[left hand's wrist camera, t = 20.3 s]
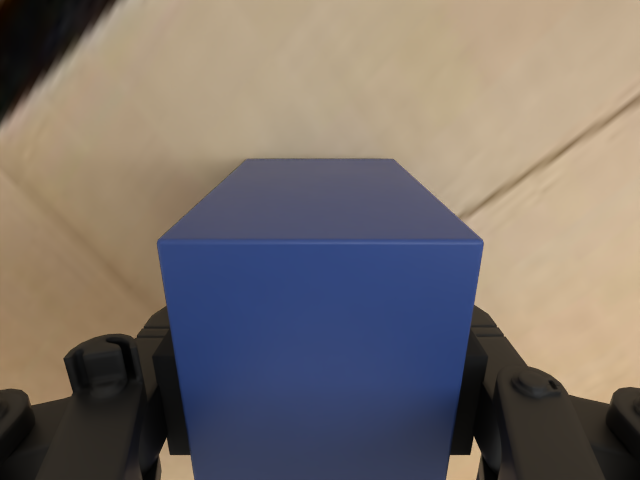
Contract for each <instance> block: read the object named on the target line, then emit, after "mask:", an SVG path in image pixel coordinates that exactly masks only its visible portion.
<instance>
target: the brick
mask: <svg viewBox="0 0 640 480" xmlns="http://www.w3.org/2000/svg"><path fill="white" fill-rule="evenodd" d="M483 245H484V243H483V240H482V239H481V238H480V237H479V236H478V235H477V234H476V233H475V232H473V231H472V230H471V229H470V228H469V227H468V226H467V225H466V224H465V223H464V222H462V221H461V220H460V219H459V218H458V217H457V216H456V215H455V214H454V213H452V212H451V211H450V210H449V209H448V208H447V207H446V206H445V205H444V204H443V203H441V202H440V201H439V200H438V199H437V198H436V197H435V196H434V195H433V194H431V193H430V192H429V191H428V190H427V189H426V188H425V187H424V186H423V185H422V184H420V183H419V182H418V181H417V180H416V179H415V178H414V177H413V176H412V175H410V174H409V173H408V172H407V171H406V170H405V169H404V168H403V167H402V166H401V165H399V164H398V163H397V162H396V161H395V160H394V159H246V160H245V161H244V162H243V163H242V164H241V165H240V166H238V167H237V168H236V169H235V170H234V171H233V172H232V173H231V174H230V175H229V176H227V177H226V178H225V179H224V180H223V181H222V182H221V183H220V184H219V185H218V186H216V187H215V188H214V189H213V190H212V191H211V192H210V193H209V194H208V195H207V196H206V197H204V198H203V199H202V200H201V201H200V202H199V203H198V204H197V205H196V206H195V207H193V208H192V209H191V210H190V211H189V212H188V213H187V214H186V215H185V216H184V217H182V218H181V219H180V220H179V221H178V222H177V223H176V224H175V225H174V226H173V227H171V228H170V229H169V230H168V231H167V232H166V233H165V234H164V235H163V236H162V237H160V238H159V239H158V241H157V248H158V254H159V260H160V267H161V273H162V279H163V285H164V292H165V298H166V304H167V310H168V317H169V323H170V329H171V336H172V342H173V348H174V354H175V361H176V367H177V373H178V379H179V386H180V392H181V398H182V404H183V411H184V417H185V423H186V430H187V436H188V442H189V448H190V455H191V461H192V467H193V473H194V480H446V476H447V469H448V463H449V457H450V451H451V444H452V438H453V432H454V426H455V420H456V413H457V407H458V401H459V395H460V388H461V382H462V376H463V370H464V363H465V357H466V351H467V345H468V339H469V332H470V326H471V320H472V314H473V307H474V301H475V295H476V289H477V283H478V276H479V270H480V264H481V258H482V251H483Z"/></svg>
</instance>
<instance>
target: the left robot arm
mask: <svg viewBox="0 0 640 480" xmlns="http://www.w3.org/2000/svg"><path fill="white" fill-rule="evenodd" d="M64 362H65V366H66V369H67V373H68V376H69V380H70V383H71V387H72V390H73V393H72V396H71V397H67V398H64V399H60V400H55V401H50V402H46V403H41V404H37V405H32V406H31V404H30V401H29V398H28V395H27V394H26V393H25V392H23V391H22V390H17V389H5V390H0V480H160V479H161V464H160V458H159V453H160V451H161V449H162V447H163V444H164V442H165V440H166V438H167V441H168V447H169V452H170V455H190V448H189V442H188V436H187V430H186V423H185V417H184V411H183V404H182V398H181V392H180V386H179V379H178V373H177V367H176V361H175V354H174V348H173V342H172V336H171V329H170V323H169V317H168V310H167V306H166V307H164V308H163V309H161V310H160V311H158V312H157V313H155V314H154V315H152V316H151V318H150V319H149V320H148V322H147V323H146V324H145V326H144V329H142V330H141V331H140V332H139V334H138V335H137V338H135V339H133V338H132V337H131V336H128V335H124V334H107V335H103V336H99V337H95V338H92V339H90V340H87V341H85V342H83V343H81V344H79V345H78V346H76V347H75V348H73V349H72V350H70V351H69V353H68V354H67V355H66V356H65V357H64ZM473 437H475V439H476V442H477V444H478V446H479V448H480V451H481V458H480V463H479V468H478V473H477V478H476V480H640V388H634V387H627V388H619V389H618V390H617V391H616V392H614V393H613V396H612V399H611V402H610V404H607V403H602V402H598V401H593V400H588V399H584V398H579V397H575V396H572V395H568V393H567V391H566V390H565V388H564V387H563V385H562V384H561V383H560V382H559V381H557V380H556V379H555V378H554V377H552V376H551V375H549V374H547V373H545V372H543V371H541V370H539V369H536V368H532V367H529V366H527V365H526V363H525V362H524V361H523V359H522V358H521V357H520V355H519V354H518V353H517V351H516V350H515V349H514V347H513V346H512V345H511V343H510V342H509V341H508V339H507V338H506V337H504V334H503V333H502V332H501V330H500V329H499V328H498V327H497V325H496V324H495V322H494V321H493V320H492V318H491V317H490V316H489V314H487V313H486V312H484V311H483V310H481V309H480V308H478V307H477V306H475V305H474V307H473V314H472V320H471V326H470V332H469V339H468V345H467V351H466V357H465V363H464V370H463V376H462V382H461V388H460V395H459V401H458V407H457V413H456V420H455V426H454V432H453V438H452V444H451V451H450V455H470V453H471V448H472V443H473Z"/></svg>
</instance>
